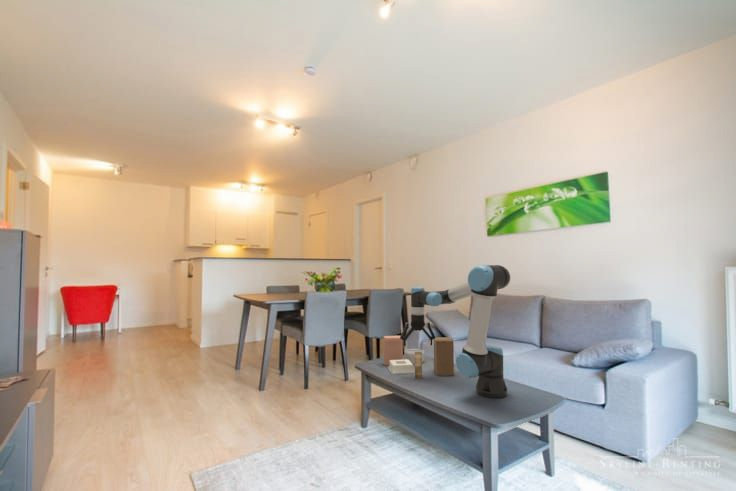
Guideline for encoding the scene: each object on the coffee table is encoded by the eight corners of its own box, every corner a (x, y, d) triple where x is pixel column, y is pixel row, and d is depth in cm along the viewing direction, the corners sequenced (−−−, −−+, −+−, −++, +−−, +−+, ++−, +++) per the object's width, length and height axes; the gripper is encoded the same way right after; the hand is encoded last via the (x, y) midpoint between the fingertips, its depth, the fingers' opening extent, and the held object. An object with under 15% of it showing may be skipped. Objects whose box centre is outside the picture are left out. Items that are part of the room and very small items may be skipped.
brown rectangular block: (404, 366, 225) (404, 337, 226) (385, 367, 224) (385, 338, 225) (402, 363, 232) (401, 335, 233) (383, 364, 231) (383, 336, 232)
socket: (415, 373, 211) (415, 365, 211) (391, 374, 209) (391, 366, 209) (409, 366, 225) (409, 358, 225) (387, 367, 223) (387, 359, 223)
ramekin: (400, 360, 240) (400, 350, 240) (417, 358, 245) (417, 348, 245) (411, 365, 228) (411, 354, 228) (428, 363, 233) (428, 352, 233)
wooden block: (454, 375, 207) (453, 340, 208) (436, 375, 207) (436, 340, 208) (450, 370, 217) (450, 337, 218) (433, 370, 217) (433, 337, 218)
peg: (422, 378, 202) (422, 353, 203) (415, 378, 202) (415, 353, 202) (420, 376, 206) (420, 351, 207) (414, 376, 206) (413, 351, 206)
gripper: (436, 312, 211) (436, 349, 210) (395, 313, 208) (394, 350, 207) (440, 314, 203) (441, 352, 203) (397, 315, 200) (397, 353, 200)
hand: (417, 351), depth 205 cm, fingers open, 13 cm apart
